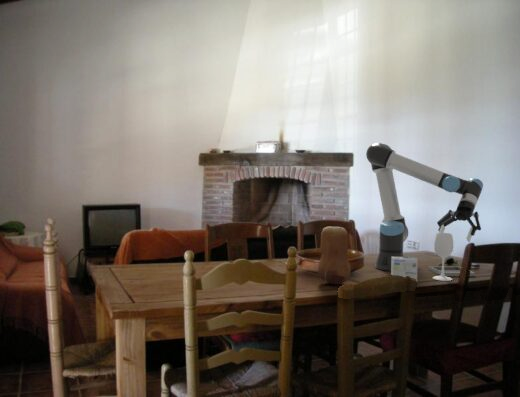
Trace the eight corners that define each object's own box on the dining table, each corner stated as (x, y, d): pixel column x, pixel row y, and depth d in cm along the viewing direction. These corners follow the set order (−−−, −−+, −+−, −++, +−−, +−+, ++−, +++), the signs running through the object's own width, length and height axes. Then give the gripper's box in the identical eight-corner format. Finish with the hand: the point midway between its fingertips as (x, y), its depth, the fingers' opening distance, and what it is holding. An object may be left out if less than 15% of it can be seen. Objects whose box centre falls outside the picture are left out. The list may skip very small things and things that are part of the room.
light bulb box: (414, 280, 221) (415, 256, 220) (417, 283, 214) (418, 259, 214) (390, 279, 222) (390, 255, 221) (392, 282, 215) (393, 258, 215)
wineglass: (428, 277, 227) (430, 232, 226) (442, 276, 230) (444, 232, 229) (442, 281, 219) (444, 235, 218) (456, 280, 222) (458, 234, 221)
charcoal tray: (442, 276, 230) (442, 272, 230) (428, 269, 246) (428, 266, 246) (475, 276, 231) (475, 272, 231) (458, 269, 247) (458, 266, 247)
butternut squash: (340, 279, 219) (341, 224, 217) (355, 286, 206) (357, 227, 205) (312, 281, 214) (313, 224, 213) (326, 288, 201) (328, 228, 200)
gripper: (495, 211, 232) (482, 246, 222) (444, 208, 250) (430, 240, 240) (492, 201, 228) (478, 236, 218) (440, 198, 245) (425, 230, 236)
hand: (453, 238), depth 229 cm, fingers open, 13 cm apart
